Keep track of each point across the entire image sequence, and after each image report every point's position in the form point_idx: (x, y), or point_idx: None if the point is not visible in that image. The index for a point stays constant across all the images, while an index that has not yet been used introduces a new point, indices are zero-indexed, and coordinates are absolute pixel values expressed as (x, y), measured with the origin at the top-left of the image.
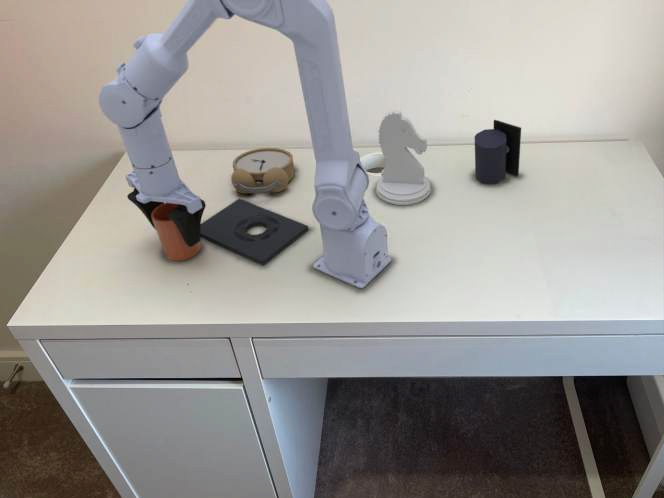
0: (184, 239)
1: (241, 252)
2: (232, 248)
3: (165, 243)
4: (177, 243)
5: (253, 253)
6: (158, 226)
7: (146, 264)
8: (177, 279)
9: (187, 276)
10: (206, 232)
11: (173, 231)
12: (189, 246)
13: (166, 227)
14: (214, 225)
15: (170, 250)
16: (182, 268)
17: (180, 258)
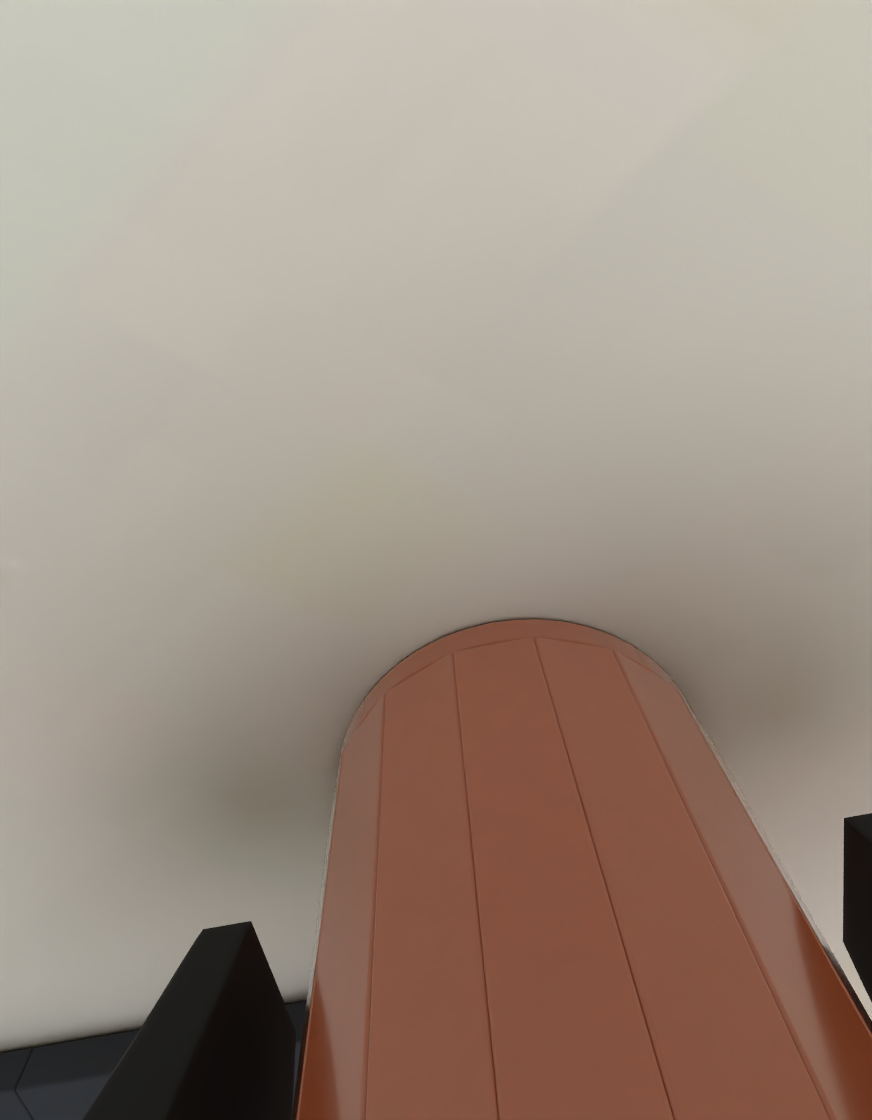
0: (189, 1026)
1: (21, 1083)
2: None
3: (471, 781)
4: (335, 882)
5: None
6: (540, 1084)
7: (616, 392)
8: (82, 516)
9: (64, 614)
10: None
11: (313, 1097)
12: (222, 926)
13: None
14: None
15: (432, 726)
16: (235, 640)
17: (369, 706)
